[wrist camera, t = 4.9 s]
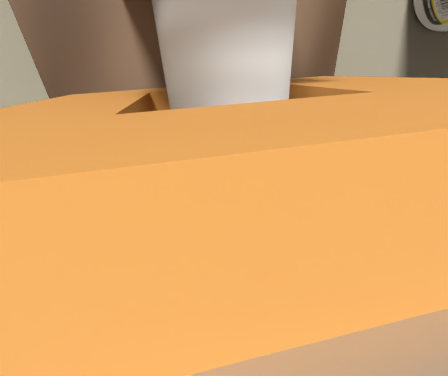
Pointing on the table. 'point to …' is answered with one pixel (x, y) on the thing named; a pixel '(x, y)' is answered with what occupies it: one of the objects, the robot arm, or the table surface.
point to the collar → (217, 224)
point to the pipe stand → (181, 46)
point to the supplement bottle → (432, 14)
